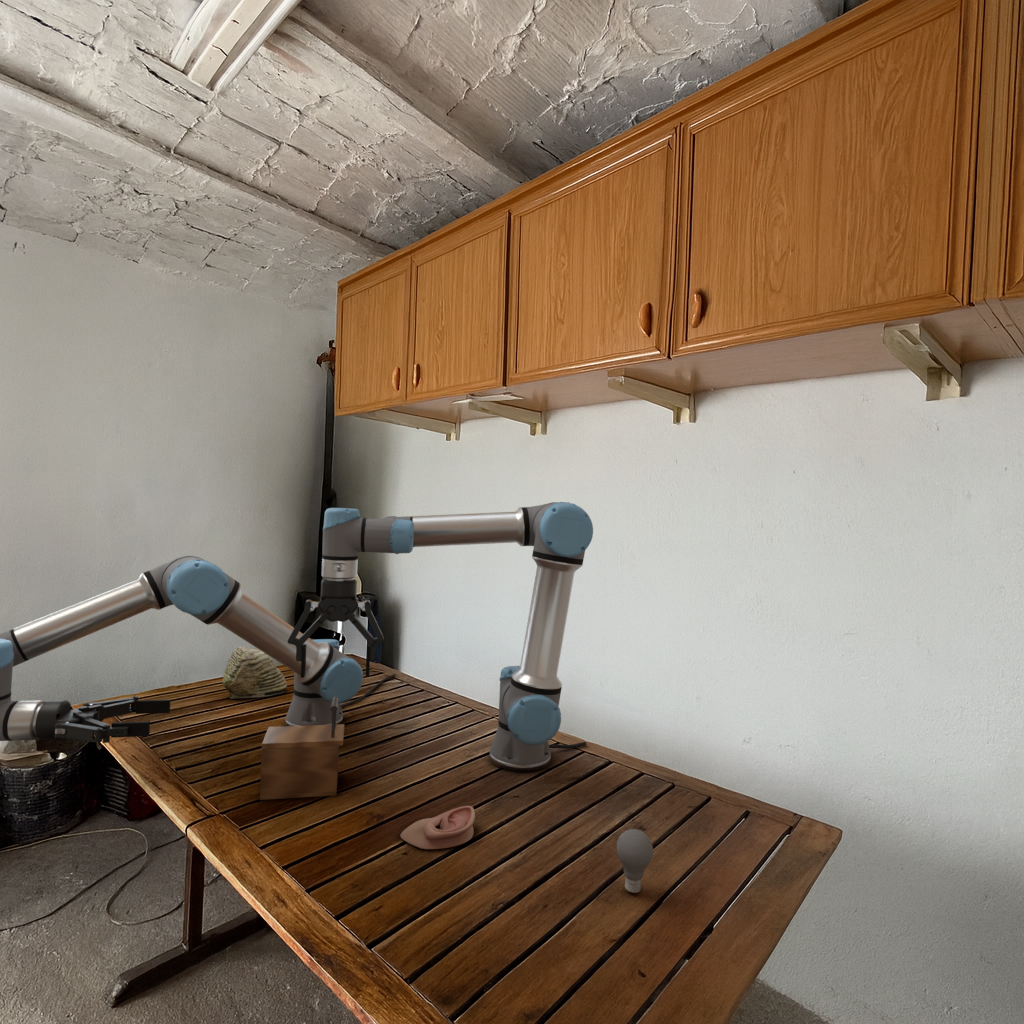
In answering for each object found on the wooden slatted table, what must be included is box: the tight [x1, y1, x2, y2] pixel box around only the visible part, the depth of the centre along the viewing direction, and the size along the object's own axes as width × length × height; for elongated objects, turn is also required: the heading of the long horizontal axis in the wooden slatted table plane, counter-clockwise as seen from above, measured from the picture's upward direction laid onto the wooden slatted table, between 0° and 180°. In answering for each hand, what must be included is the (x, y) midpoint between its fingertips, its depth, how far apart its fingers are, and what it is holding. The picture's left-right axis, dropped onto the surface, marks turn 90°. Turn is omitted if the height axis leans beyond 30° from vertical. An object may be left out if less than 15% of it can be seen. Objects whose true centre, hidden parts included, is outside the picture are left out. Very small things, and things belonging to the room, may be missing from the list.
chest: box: [259, 746, 340, 801], centre depth 138 cm, size 15×10×11 cm, turn 103°
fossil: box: [222, 646, 288, 699], centre depth 198 cm, size 9×18×15 cm, turn 132°
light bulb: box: [615, 828, 654, 894], centre depth 106 cm, size 6×6×10 cm
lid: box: [261, 697, 345, 750], centre depth 138 cm, size 16×10×8 cm, turn 103°
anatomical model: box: [399, 805, 476, 850], centre depth 121 cm, size 13×4×12 cm
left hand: (160, 716), depth 131 cm, fingers open, 13 cm apart
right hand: (335, 675), depth 139 cm, fingers open, 13 cm apart
